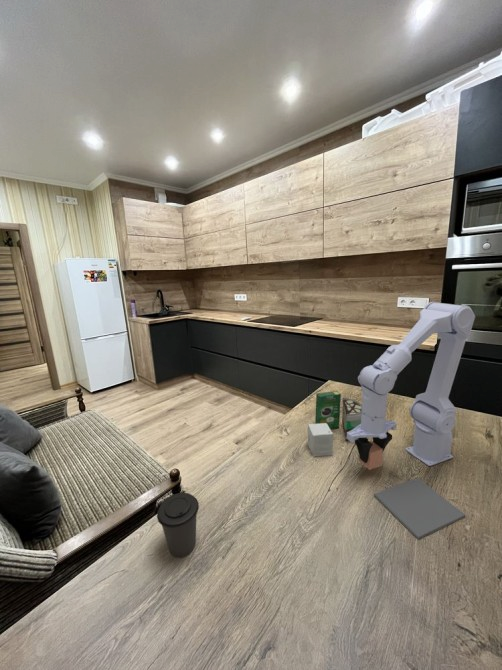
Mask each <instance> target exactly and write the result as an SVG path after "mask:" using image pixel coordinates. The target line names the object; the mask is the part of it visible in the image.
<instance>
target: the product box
mask: <svg viewBox="0 0 502 670" xmlns="http://www.w3.org/2000/svg"><path fill="white" fill-rule="evenodd" d="M307 446H308V448H309V450H310V452H311V453H310V454H311V455H312V457H325V456H333V449H334V433H333V432H332V429H330V428H329V426H328V425H327V423H321V424H315V423H308V424H307Z"/></svg>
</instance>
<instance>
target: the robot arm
mask: <svg viewBox="0 0 502 670" xmlns="http://www.w3.org/2000/svg"><path fill="white" fill-rule="evenodd" d="M475 319H476V315H475V313H474V311H473V309H472V308H471V307H470V306H469V305H464V304H462V305H459V304H452V303H444V302H443V303H442V302H437V301H430V302H428V303H427V304H426V305H425V306H424V307H423V309H422V310H420V311H419V319H418V321H417V322H415V325H413V327H412V328H411V329H410V331H409V332H408V333H407V334H406V335H405V337H404V338H403V339H402V340H401V342H400V343H399V344H398V343H397V344H391V345H390V346H388V348H387V349H386V350H385V351H384V352H383V354H381V355H380V357H379V358H377V359H376V361H374V363H373V364H372V365H367V366H365V367H363V368H362V369H361V370H360V373H359V375H358V376H357V380H358V383H359V384H360V390H361V392H362V394H361V395H362V396H361V404H362V411H361V424H360V425H358V426H357V427H356V428H354V429H353V430H351V431H349V432H347V439H348V440H349V441H348V442H350V443H351V444H352V443H355V446H356V448H357V449H356V450H357V451H358V452H357V453H358V458H359V457H360V459H361V460H362V461H363V462H364V463H367V461H368V457H369V451H370V448H371V447H372V445H373V444H372V443H371V442H369V441H370V440H369V438H372V441H373V442H374V443H375V444H377V445H378V446H379V447H381V448H382V449H383V453H384V451H385V450H386V447H387V445H388V444H389V443H390V442H391V441H392V440H393V434H392V433H390V432H389V431H390V430H392V431H396V430H397V425H398V423H397V422H395V421H394V420H392V419H388V420H386V417H387V415H386V414H387V403H388V402H387V401H388V393H389V392H390V391H392V390H393V389H394V386H395V383H396V381H397V378H398V375H399V374H400V373H401V372H402V371H403V370H404V368H406V366H407V365H409V364H410V362H412V353H413V352H415V350H416V349H418V348H419V347H420V346H421V345H422V344H423V343H425V342H426V341H427V340H428V339H429V338H430V337H432V336H433V334H437V335H438V336H439V338H440V341H439V345H438V348H437V352H436V356H435V359H434V361H433V366H432V369H431V373H430V375H429V379H428V382H427V387H426V390H425V392H422V393H419V394H416V395H415V399H414V401H413V402H412V404H411V405H410V407H409V416H410V417H411V418H412V419H413V421H412V422H413V423H414V433H413V442H412V446H409V447H406V448H405V451H406V452H408V453H409V454H411V455H412V456H414V457H415V458H416V459H418V460H419V461H421V462H423V464H425V465H427V466H428V467H431V466H435V465H437V464H439V463H440V464H441V463H442V462H443V463H444V462H445V461H448V460H450V459H454V456H453V455H452V454H451V451H452V450H451V449H452V445H453V444H452V443H453V433H452V431H453V429H454V427H455V425H456V412H457V409H456V407H455V406H454V404H453V402H451V400H450V398H449V397H450V394H451V390H452V386H453V384H454V380H455V377H456V373H457V370H458V367H459V365H460V361H461V358H462V357H461V356H462V355H463V354H462V353H463V351H464V348H465V344H466V341H467V339H469V338H470V336H471V331H472V330H473V329H472V328H473V325H474V321H475Z"/></svg>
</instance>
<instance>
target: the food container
mask: <svg viewBox="0 0 502 670" xmlns="http://www.w3.org/2000/svg"><path fill="white" fill-rule="evenodd" d="M361 411H362V402H361V403H360V401H358V400H356V399H352V398H349V397H348V398H347V397H342V414H341V416H342V417H341V427H342V432H343V436H344V441H346V442H350V441H349V440H348V439H347V432H349V431H351V430H353V429H354V428H356V427H357V426H358V425H360V424H361Z"/></svg>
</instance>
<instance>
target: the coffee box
mask: <svg viewBox="0 0 502 670" xmlns="http://www.w3.org/2000/svg"><path fill="white" fill-rule="evenodd" d="M341 398H342V393H340V392H339V391H337V390H335V391H326V392H318V393H316V399H315V417H314V418H315V421H314V422H315V423H314V424H321V423H327V425H328V426H329V428H330V430H336V429H339V428H340V418H341V417H340V413H341V400H342V399H341Z"/></svg>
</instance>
